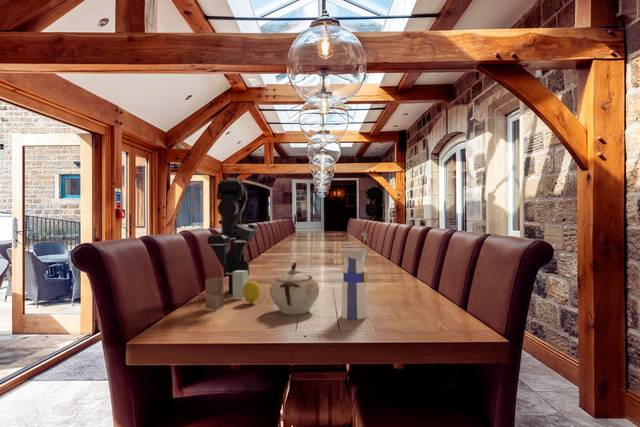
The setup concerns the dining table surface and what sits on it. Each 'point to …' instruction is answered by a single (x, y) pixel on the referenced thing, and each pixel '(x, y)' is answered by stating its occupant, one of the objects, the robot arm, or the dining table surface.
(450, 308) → the dining table surface
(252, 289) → the lemon
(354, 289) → the white blue cross vase
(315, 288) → the sugar bowl
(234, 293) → the sage block
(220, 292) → the beige rectangular block
